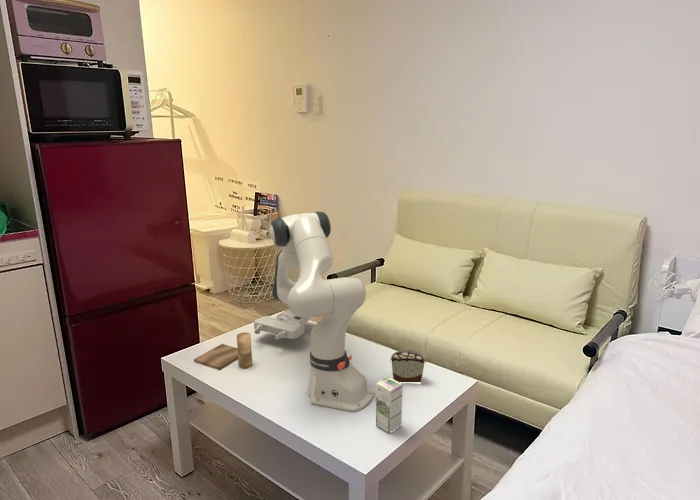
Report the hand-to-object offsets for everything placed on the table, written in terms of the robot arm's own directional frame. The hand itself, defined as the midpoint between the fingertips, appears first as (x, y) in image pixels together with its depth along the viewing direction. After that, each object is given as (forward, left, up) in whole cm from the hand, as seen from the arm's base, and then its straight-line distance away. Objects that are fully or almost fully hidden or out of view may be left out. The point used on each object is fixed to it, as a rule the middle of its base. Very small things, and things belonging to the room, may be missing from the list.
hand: (265, 334), depth 195 cm
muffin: (-56, -8, -7) cm, 57 cm away
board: (+12, +12, -7) cm, 18 cm away
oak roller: (0, +12, -7) cm, 14 cm away
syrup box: (-62, +20, -7) cm, 66 cm away
